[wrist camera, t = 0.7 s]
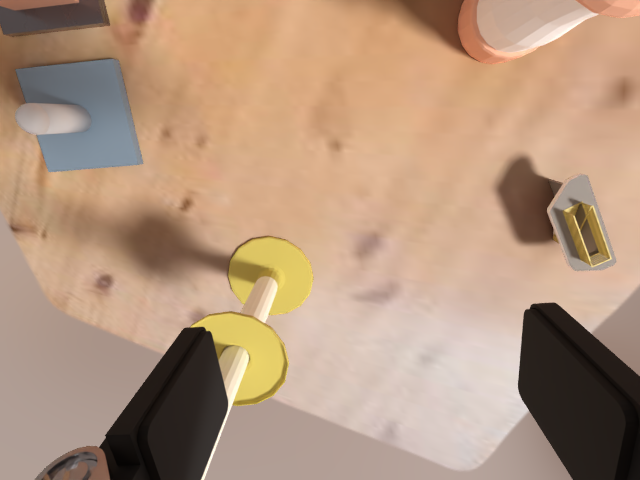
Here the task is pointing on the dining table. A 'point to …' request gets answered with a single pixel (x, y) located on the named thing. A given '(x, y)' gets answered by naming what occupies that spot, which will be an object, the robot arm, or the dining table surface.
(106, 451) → the robot arm
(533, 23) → the salt shaker
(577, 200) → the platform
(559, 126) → the dining table surface
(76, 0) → the collar
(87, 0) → the stand
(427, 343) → the dining table surface
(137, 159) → the blue peg base
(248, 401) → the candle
